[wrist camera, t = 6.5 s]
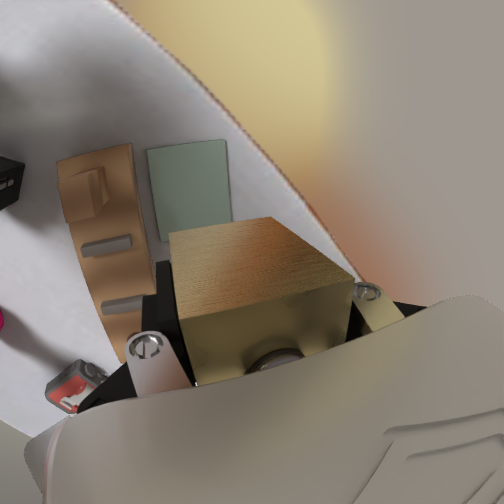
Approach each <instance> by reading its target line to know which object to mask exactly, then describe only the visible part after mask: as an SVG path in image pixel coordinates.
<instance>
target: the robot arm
mask: <svg viewBox="0 0 504 504" xmlns="http://www.w3.org/2000/svg"><path fill="white" fill-rule="evenodd" d="M124 349H125V356H126V360H127V362H125V363H124V364H123V365H122V366H121V367H120V368H119V369H117V370H116V371H115V372H114V373H113V374H112V375H111V376H109V377H108V378H107V379H106V380H105V381H104V382H102V383H101V384H100V385H99V386H98V387H97V388H96V389H94V390H93V391H92V392H91V393H90V394H89V395H88V396H86V397H85V398H84V399H83V400H82V402H81V403H80V404H79V406H78V409H77V414H76V415H74V416H73V417H71V416H70V415H69V416H67V417H66V418H64V419H63V420H61V421H60V422H58V423H57V424H55V425H53V426H52V427H50V428H49V429H47V430H46V431H44V432H42V433H41V434H39V435H38V436H36V437H34V438H33V439H32V440H30V441H29V442H28V443H27V445H26V447H25V449H24V457H25V461H26V463H27V465H28V468H29V469H30V472H31V474H32V476H33V478H34V480H35V482H36V484H37V485H38V487H39V489H40V491H41V493H42V504H504V312H503V311H501V310H500V309H499V308H497V307H496V306H494V305H493V304H492V303H490V302H488V301H487V300H485V299H483V298H481V297H479V296H471V295H466V296H457V297H453V298H449V299H446V300H443V301H441V302H438V303H436V304H434V305H432V306H429V307H423V306H416V305H411V304H405V303H400V302H394V301H392V300H391V299H390V298H389V297H388V295H387V294H386V293H385V292H384V291H383V289H381V288H380V287H379V286H377V285H375V284H372V283H368V282H358V283H354V290H353V297H352V304H351V310H350V316H349V322H348V328H347V334H346V339H345V343H343V344H341V345H338V346H335V347H332V348H330V349H327V350H324V351H321V352H318V353H315V354H313V355H310V356H307V357H304V358H301V359H297V360H294V361H291V362H288V363H285V364H281V365H278V366H275V367H271V368H268V369H264V370H261V371H257V372H254V373H250V374H246V375H242V376H238V377H234V378H230V379H226V380H222V381H218V382H213V383H209V384H204V385H200V386H196V384H195V382H196V379H195V376H194V372H193V369H192V365H191V362H190V359H189V355H188V352H187V348H186V344H185V341H184V337H183V333H182V329H181V326H180V322H179V316H178V310H177V303H176V295H175V288H174V280H173V271H172V263H170V262H169V260H166V261H161V262H156V294H152V295H146V296H143V298H142V321H141V333H139V334H136V335H134V336H133V337H132V338H130V339H129V341H128V342H127V343H126V345H125V348H124Z"/></svg>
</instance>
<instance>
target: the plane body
mask: <svg viewBox="0 0 504 504" xmlns="http://www.w3.org/2000/svg"><path fill="white" fill-rule="evenodd" d="M56 164H57V171H58V177H59V182H58V189H59V194H60V199H61V203H62V208H63V212H64V216H65V220H66V223H68V224H69V228H70V232H71V236H72V239H73V243H74V246H75V250H76V253H77V256H78V260H79V263H80V266H81V269H82V272H83V275H84V278H85V281H86V284H87V286H88V289H89V292H90V294H91V297H92V300H93V302H94V305H95V307H96V310H97V312H98V315H99V317H100V320H101V322H102V324H103V327H104V329H105V331H106V333H107V336H108V338H109V340H110V342H111V344H112V347H113V349H114V351H115V353H116V355H117V357H118V359H119V361H120V363H125V362H127V360H126V356H125V349H124V348H125V345H126V343H127V342H128V341H129V339H130V338H132V337H133V336H134V335H136V334H139V333H141V321H142V298H143V296H146V295H152V294H156V277H155V273H154V268H153V264H152V260H151V255H150V251H149V246H148V242H147V237H146V232H145V227H144V222H143V216H142V211H141V205H140V200H139V194H138V187H137V181H136V174H135V167H134V159H133V151H132V143H129V144H124V145H119V146H115V147H110V148H106V149H102V150H97V151H93V152H89V153H86V154H82V155H78V156H74V157H71V158H67V159H64V160H61V161H57V162H56Z"/></svg>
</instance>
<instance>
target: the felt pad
mask: <svg viewBox="0 0 504 504" xmlns="http://www.w3.org/2000/svg"><path fill="white" fill-rule="evenodd" d="M147 157H148V165H149V173H150V180H151V187H152V193H153V200H154V206H155V212H156V218H157V224H158V229H159V234H160V240H161V242H166V241H169V233H171V232H177V231H182V230H188V229H194V228H200V227H206V226H212V225H219V224H225V223H231V222H232V221H231V210H230V198H229V186H228V174H227V161H226V148H225V139H222V140H212V141H203V142H195V143H188V144H180V145H173V146H167V147H161V148H155V149H149V150H147Z"/></svg>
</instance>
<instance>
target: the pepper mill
mask: <svg viewBox="0 0 504 504" xmlns="http://www.w3.org/2000/svg"><path fill="white" fill-rule="evenodd" d="M2 327H3V316H2V313H1V311H0V330H1V329H2Z"/></svg>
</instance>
